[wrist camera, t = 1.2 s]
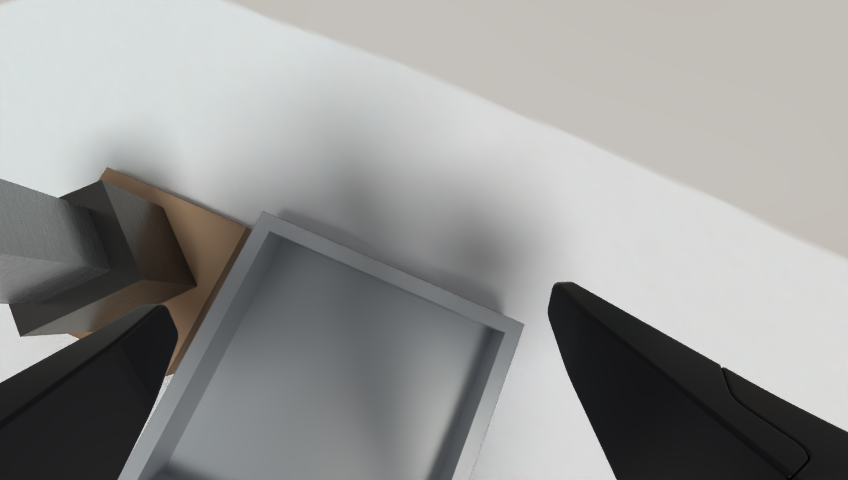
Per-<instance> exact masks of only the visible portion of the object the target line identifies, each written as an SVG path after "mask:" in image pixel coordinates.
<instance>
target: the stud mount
mask: <svg viewBox="0 0 848 480" xmlns="http://www.w3.org/2000/svg"><path fill="white" fill-rule="evenodd" d="M100 180H103V181H105V182H108V183H110V184H112V185H114V186H117V187H119V188H121V189H123V190H126V191H128V192H130V193H132V194H135V195H137V196H139V197H141V198H144V199H146V200H148V201H150V202H153V203H155V204H157V205H159V206H161V207H163V208H164V210H165V213H166V215H167V217H168V220H169V222H170V224H171V226H172V229H173V231H174V233H175V236H176V238H177V240H178V243H179V245H180V247H181V249H182V252H183V254H184V256H185V259H186V261H187V263H188V266H189V268H190V270H191V273H192V275H193V277H194V279H195V282H196V284H197V287H195V288H193V289H191V290H189V291H187V292H185V293H183V294H180V295H178V296H176V297H174V298H172V299H170V300H168V301H166V302H164V303H162V304H164V305H165V306H166V307H167V308H168V309H169V312H170V314H171V316H172V319H173V321H174V323H175V325H176V328H177V330H178V342H177V345H176V347H175V350H174V353H173V356H172V358H171V361H170V364H169V367H168V369H167V372H166V375H165V376H168V375H171V374H175V372H176V371H177V369H178V367H179V365H180V363H181V361H182V360H183V358H184V356H185V354H186V352H187V350H188V348H189V347H190V345H191V343H192V341H193V339H194V337H195V336H196V334H197V332H198V330H199V328H200V326H201V324H202V323H203V321H204V319H205V317H206V315H207V313H208V311H209V310H210V308H211V306H212V304H213V302H214V300H215V299H216V297H217V295H218V293H219V291H220V289H221V287H222V286H223V284H224V282H225V280H226V278H227V276H228V275H229V273H230V271H231V269H232V267H233V265H234V263H235V262H236V260H237V258H238V256H239V254H240V252H241V251H242V249H243V247H244V245H245V243H246V241H247V239H248V238H249V236H250V234H251V232H252V230H250V229H248V228H247V227H244V226H242V225H240V224H237V223H235V222H233V221H230V220H228V219H226V218H224V217H221V216H219V215H217V214H214V213H212V212H210V211H207V210H205V209H203V208H200V207H198V206H196V205H193V204H191V203H189V202H187V201H184V200H182V199H180V198H177V197H175V196H173V195H170V194H168V193H166V192H163V191H161V190H159V189H157V188H154V187H152V186H150V185H147V184H145V183H143V182H140V181H138V180H136V179H133V178H131V177H129V176H126V175H124V174H122V173H120V172H117V171H115V170H113V169H110V168H108V167H107V168H106V170H105V171H104V173H103V174H102V176H101V177H100V179H99V180H98V181H100ZM91 333H92V332H82V333H68V334H70V335H72V336H75V337H77V338H79V339H82V338H83V337H85V336H87V335H89V334H91Z"/></svg>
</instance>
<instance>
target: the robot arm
mask: <svg viewBox="0 0 848 480" xmlns="http://www.w3.org/2000/svg"><path fill="white" fill-rule="evenodd" d="M548 317H549V321H550V324H551V327H552V330H553V332H554V335H555V338H556V341H557V344H558V347H559V350H560V353H561V356H562V359H563V362H564V365H565V368H566V371H567V373H568V376H569V378H570V380H571V382H572V385H573V387H574V389H575V391H576V393H577V395H578V398H579V400H580V402H581V404H582V406H583V408H584V410H585V413H586V415H587V417H588V419H589V421H590V423H591V425H592V428H593V430H594V432H595V434H596V436H597V438H598V440H599V443H600V445H601V447H602V449H603V451H604V453H605V456H606V458H607V460H608V462H609V464H610V466H611V468H612V471H613V473H614V475H615V477H616V479H617V480H848V432H846V431H844V430H842V429H840V428H838V427H836V426H834V425H832V424H830V423H828V422H826V421H824V420H822V419H820V418H818V417H816V416H814V415H812V414H811V413H809V412H807V411H805V410H803V409H801V408H799V407H797V406H795V405H793V404H791V403H789V402H787V401H785V400H783V399H781V398H779V397H777V396H775V395H774V394H772V393H770V392H768V391H766V390H764V389H763V388H761V387H759V386H757V385H755V384H753V383H752V382H750V381H748V380H746V379H744V378H742V377H741V376H739V375H737V374H735V373H734V372H732V371H730V370H728V369H727V368H724V367H723V368H721V366H720V365H719V364H718V363H716V362H714V361H712V360H710V359H709V358H707V357H705V356H703V355H702V354H700V353H698V352H696V351H694V350H693V349H691V348H689V347H687V346H685V345H684V344H682V343H680V342H678V341H677V340H675V339H673V338H671V337H669V336H668V335H666V334H664V333H662V332H661V331H659V330H657V329H655V328H653V327H652V326H650V325H648V324H646V323H645V322H643V321H641V320H639V319H637V318H636V317H634V316H632V315H630V314H629V313H627V312H625V311H623V310H621V309H620V308H618V307H616V306H614V305H613V304H611V303H609V302H607V301H605V300H604V299H602V298H600V297H598V296H596V295H595V294H593V293H591V292H589V291H588V290H586V289H584V288H582V287H580V286H579V285H577V284H575V283H573V282H557V283H555V284H554V286H553V288H552V292H551V297H550V301H549V306H548ZM177 342H178V330H177V328H176V325H175V323H174V321H173V319H172V316H171V314H170V312H169V309H168V308H167V307H166V306H165V305H164V304H147V305H142V306H140V307H138V308H136V309H134V310H133V311H131V312H129V313H127V314H125V315H123V316H122V317H120V318H118V319H116V320H114V321H113V322H111V323H109V324H107V325H105V326H103V327H102V328H100V329H98V330H96V331H94V332H92V333H91V334H89V335H87V336H85V337H83V338H82V339H80V340H78V341H76V342H74V343H72V344H71V345H69V346H67V347H65V348H63V349H61V350H60V351H58V352H56V353H54V354H52V355H51V356H49V357H47V358H45V359H43V360H41V361H40V362H38V363H36V364H34V365H32V366H30V367H29V368H27V369H25V370H23V371H21V372H20V373H18V374H16V375H14V376H12V377H10V378H9V379H7V380H5V381H3V382H1V383H0V480H118V478H119V476H120V474H121V472H122V470H123V468H124V466H125V464H126V462H127V460H128V458H129V456H130V454H131V452H132V450H133V448H134V446H135V443H136V441H137V439H138V437H139V435H140V433H141V431H142V429H143V427H144V425H145V423H146V421H147V419H148V417H149V415H150V413H151V410H152V408H153V406H154V404H155V401H156V399H157V396H158V394H159V391H160V388H161V386H162V383H163V380H164V378H165V375H166V372H167V369H168V367H169V364H170V361H171V358H172V356H173V353H174V350H175V347H176V345H177Z"/></svg>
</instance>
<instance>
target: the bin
mask: <svg viewBox="0 0 848 480" xmlns="http://www.w3.org/2000/svg"><path fill="white" fill-rule="evenodd" d="M523 327H524V324H523V323H520V322H518V321H516V320H513V319H511V318H509V317H506V316H504V315H502V314H500V313H497V312H495V311H493V310H490V309H488V308H486V307H483V306H481V305H479V304H476V303H474V302H472V301H469V300H467V299H465V298H462V297H460V296H458V295H456V294H453V293H451V292H449V291H446V290H444V289H442V288H439V287H437V286H435V285H432V284H430V283H428V282H425V281H423V280H421V279H419V278H416V277H414V276H412V275H409V274H407V273H405V272H402V271H400V270H398V269H395V268H393V267H391V266H388V265H386V264H384V263H381V262H379V261H377V260H375V259H372V258H370V257H368V256H365V255H363V254H361V253H358V252H356V251H354V250H351V249H349V248H347V247H344V246H342V245H340V244H338V243H335V242H333V241H331V240H328V239H326V238H324V237H321V236H319V235H317V234H314V233H312V232H310V231H307V230H305V229H303V228H300V227H298V226H296V225H294V224H291V223H289V222H287V221H284V220H282V219H280V218H277V217H275V216H273V215H270V214H268V213H266V212H262V214H261V215H260V217H259V219H258V221H257V223H256V225H255V227H254V228H253V230H252V232H251V234H250V236H249V238H248V239H247V241H246V243H245V245H244V247H243V249H242V251H241V252H240V254H239V256H238V258H237V260H236V262H235V263H234V265H233V267H232V269H231V271H230V273H229V275H228V276H227V278H226V280H225V282H224V284H223V286H222V287H221V289H220V291H219V293H218V295H217V297H216V299H215V300H214V302H213V304H212V306H211V308H210V310H209V311H208V313H207V315H206V317H205V319H204V321H203V323H202V324H201V326H200V328H199V330H198V332H197V334H196V336H195V337H194V339H193V341H192V343H191V345H190V347H189V348H188V350H187V352H186V354H185V356H184V358H183V360H182V361H181V363H180V365H179V367H178V369H177V371H176V372H175V374H174V376H173V378H172V380H171V382H170V384H169V385H168V387H167V389H166V391H165V393H164V395H163V396H162V398H161V400H160V402H159V404H158V406H157V408H156V409H155V411H154V413H153V415H152V417H151V419H150V420H149V422H148V424H147V426H146V428H145V430H144V432H143V433H142V435H141V437H140V439H139V441H138V443H137V444H136V446H135V448H134V450H133V452H132V454H131V456H130V457H129V459H128V461H127V463H126V465H125V467H124V468H123V470H122V472H121V474H120V476H119V478H118V480H470V477H471V474H472V471H473V468H474V465H475V463H476V460H477V457H478V454H479V451H480V448H481V446H482V443H483V440H484V437H485V434H486V432H487V429H488V426H489V423H490V420H491V417H492V415H493V412H494V409H495V406H496V403H497V400H498V398H499V395H500V392H501V389H502V386H503V383H504V381H505V378H506V375H507V372H508V369H509V366H510V364H511V361H512V358H513V355H514V352H515V349H516V347H517V344H518V341H519V338H520V335H521V332H522V330H523Z"/></svg>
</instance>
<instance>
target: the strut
mask: <svg viewBox="0 0 848 480" xmlns="http://www.w3.org/2000/svg"><path fill="white" fill-rule="evenodd" d="M195 287H197V284H196V282H195V279H194V277H193V275H192V273H191V270H190V268H189V266H188V263H187V261H186V259H185V256H184V254H183V252H182V249H181V247H180V245H179V243H178V240H177V238H176V236H175V233H174V231H173V229H172V226H171V224H170V222H169V220H168V217H167V215H166V213H165V210H164V208H163V207H161V206H159V205H157V204H155V203H153V202H150V201H148V200H146V199H144V198H141V197H139V196H137V195H135V194H132V193H130V192H128V191H126V190H123V189H121V188H119V187H117V186H114V185H112V184H110V183H108V182H105V181H103V180H100V181H98V182H95V183H93V184H90V185H88V186H86V187H83V188H81V189H79V190H76V191H74V192H71V193H69V194H67V195H64V196H62V197H59V198H56V197H53V196H50V195H47V194H44V193H41V192H38V191H35V190H32V189H29V188H26V187H24V186H21V185H18V184H15V183H12V182H9V181H6V180H3V179H0V303H3V304H9V306H10V309H11V312H12V315H13V318H14V320H15V323H16V326H17V329H18V332H19V334H20V337H22V336H37V335H52V334H67V333H82V332H94V331H96V330H98V329H100V328H102V327H103V326H105V325H107V324H109V323H111V322H113V321H114V320H116V319H118V318H120V317H122V316H123V315H125V314H127V313H129V312H131V311H133V310H134V309H136V308H138V307H140V306H142V305H147V304H162V303H164V302H166V301H168V300H170V299H172V298H174V297H176V296H178V295H180V294H183V293H185V292H187V291H189V290H191V289H193V288H195Z"/></svg>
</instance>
